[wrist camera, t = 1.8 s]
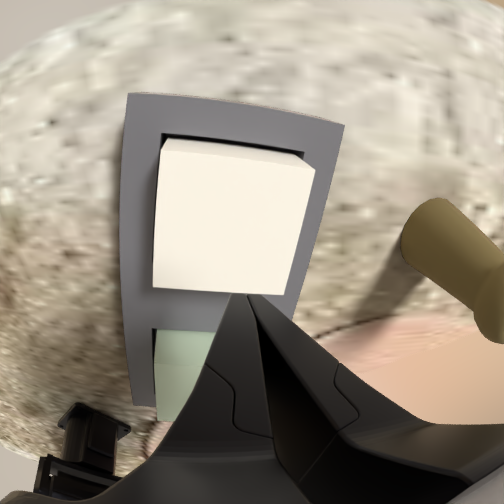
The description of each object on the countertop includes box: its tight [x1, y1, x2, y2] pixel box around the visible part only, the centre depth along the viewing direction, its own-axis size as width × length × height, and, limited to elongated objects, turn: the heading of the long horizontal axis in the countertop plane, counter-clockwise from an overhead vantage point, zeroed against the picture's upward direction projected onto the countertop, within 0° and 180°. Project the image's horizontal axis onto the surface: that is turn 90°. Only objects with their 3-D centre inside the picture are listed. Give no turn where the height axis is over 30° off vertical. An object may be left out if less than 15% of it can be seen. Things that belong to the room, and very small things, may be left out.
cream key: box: [153, 137, 315, 295], centre depth 15 cm, size 6×6×3 cm
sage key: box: [154, 329, 216, 422], centre depth 20 cm, size 6×6×3 cm
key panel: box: [119, 92, 345, 407], centre depth 19 cm, size 21×10×4 cm, turn 170°
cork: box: [401, 198, 504, 344], centre depth 18 cm, size 6×6×11 cm
